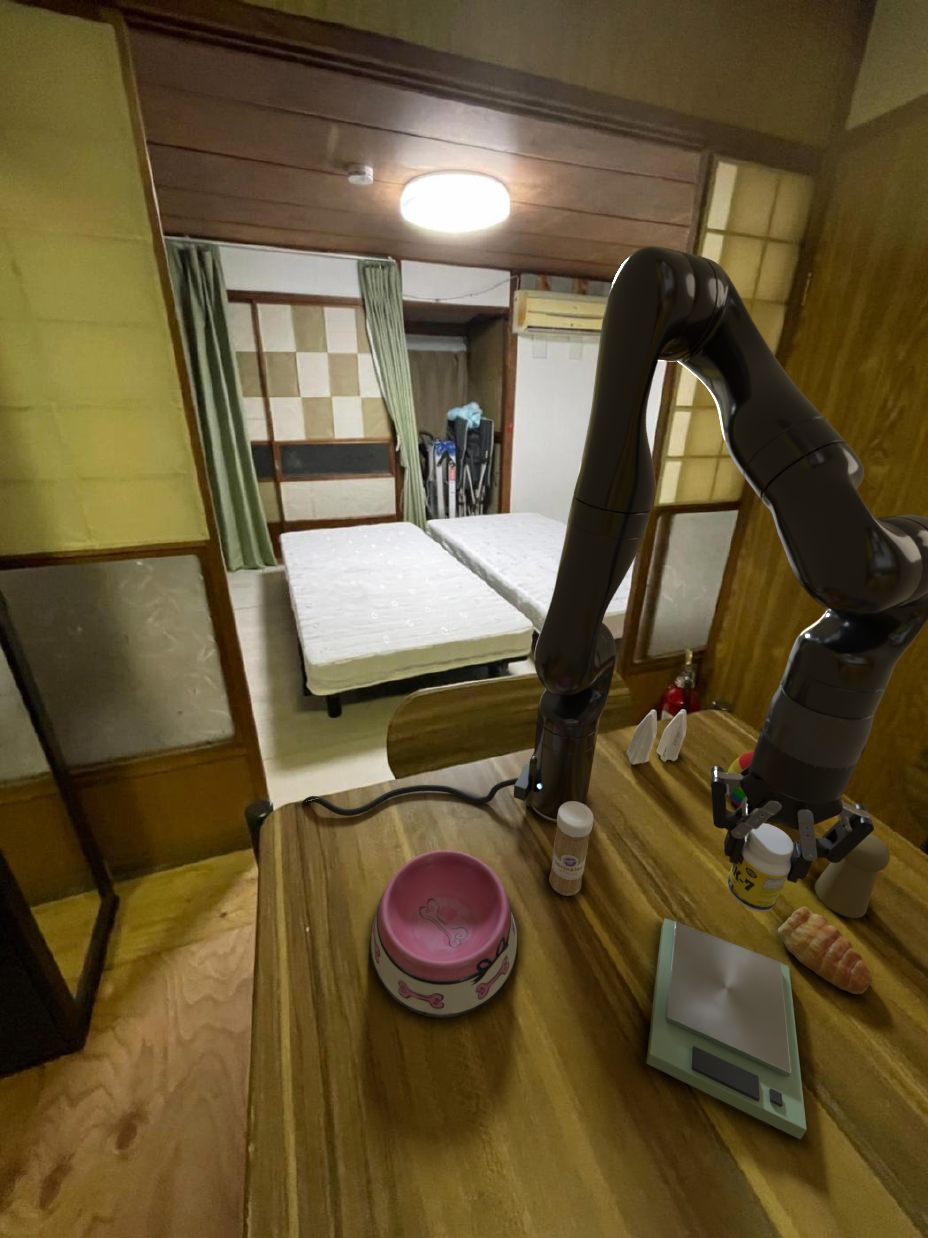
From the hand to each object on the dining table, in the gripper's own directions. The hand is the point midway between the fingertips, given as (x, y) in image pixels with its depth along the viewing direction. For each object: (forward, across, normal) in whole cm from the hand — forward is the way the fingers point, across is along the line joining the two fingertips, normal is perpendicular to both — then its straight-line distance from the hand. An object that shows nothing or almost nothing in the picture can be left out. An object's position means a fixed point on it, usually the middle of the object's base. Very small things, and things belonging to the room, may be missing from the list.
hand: (760, 865), depth 54 cm
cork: (+19, -15, -17) cm, 30 cm away
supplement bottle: (+5, 0, 0) cm, 5 cm away
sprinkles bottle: (+19, +20, -4) cm, 27 cm away
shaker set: (+19, +12, -36) cm, 42 cm away
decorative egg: (+19, -4, -32) cm, 37 cm away
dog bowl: (+19, +32, +10) cm, 38 cm away
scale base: (+18, 0, +6) cm, 19 cm away
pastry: (+19, -11, -7) cm, 23 cm away
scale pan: (+16, 0, +4) cm, 17 cm away
